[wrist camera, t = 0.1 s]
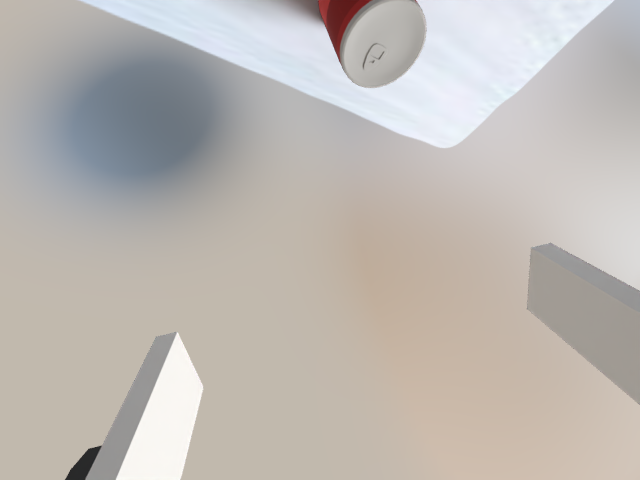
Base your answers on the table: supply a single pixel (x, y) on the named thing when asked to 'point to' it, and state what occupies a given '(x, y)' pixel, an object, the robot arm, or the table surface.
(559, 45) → the table surface
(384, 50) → the canned food
